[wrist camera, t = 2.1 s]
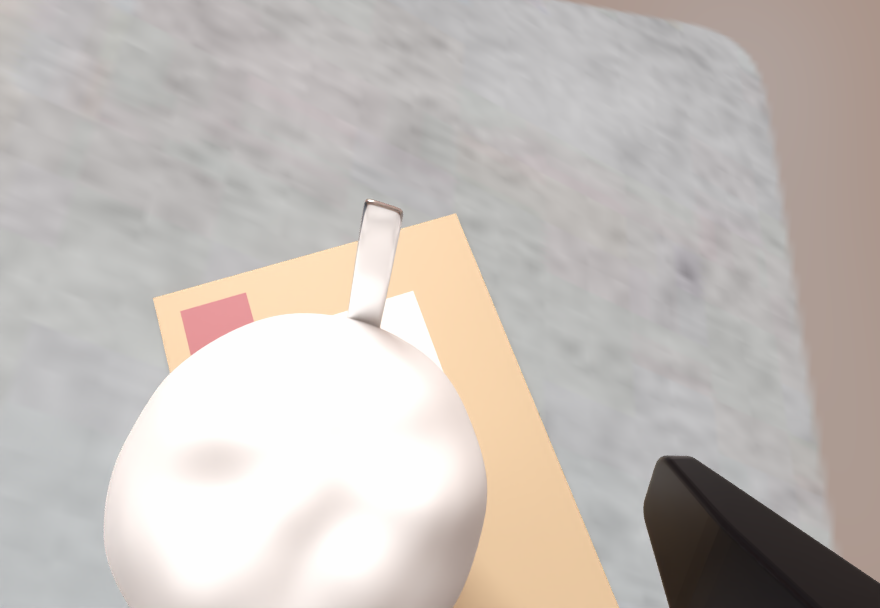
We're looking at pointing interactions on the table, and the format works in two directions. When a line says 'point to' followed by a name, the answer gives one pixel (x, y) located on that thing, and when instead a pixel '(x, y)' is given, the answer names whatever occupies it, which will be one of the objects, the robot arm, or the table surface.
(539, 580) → the envelope
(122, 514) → the milkshake
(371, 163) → the table surface
